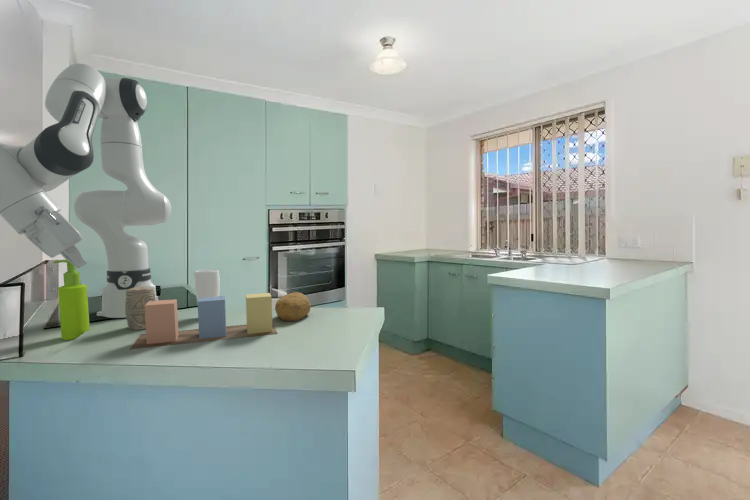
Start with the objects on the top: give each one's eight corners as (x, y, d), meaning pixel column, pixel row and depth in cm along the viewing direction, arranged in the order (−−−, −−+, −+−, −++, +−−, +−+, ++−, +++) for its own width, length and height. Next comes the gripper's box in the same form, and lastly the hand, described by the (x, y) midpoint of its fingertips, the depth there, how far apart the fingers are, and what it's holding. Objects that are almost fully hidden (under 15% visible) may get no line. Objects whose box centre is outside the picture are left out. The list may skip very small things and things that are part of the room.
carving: (127, 331, 107) (124, 287, 106) (158, 327, 111) (156, 284, 110) (125, 337, 102) (123, 291, 101) (159, 333, 105) (157, 288, 104)
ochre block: (246, 328, 103) (245, 294, 102) (270, 326, 105) (269, 292, 104) (247, 334, 98) (246, 298, 98) (272, 331, 100) (271, 296, 100)
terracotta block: (150, 338, 96) (148, 301, 95) (178, 335, 98) (176, 299, 97) (146, 344, 91) (144, 305, 90) (175, 341, 93) (174, 303, 92)
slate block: (200, 333, 99) (199, 297, 99) (226, 330, 101) (224, 296, 101) (199, 338, 95) (197, 301, 94) (226, 336, 97) (224, 299, 96)
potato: (267, 328, 109) (267, 299, 108) (284, 315, 123) (283, 290, 122) (302, 328, 108) (302, 299, 108) (315, 316, 122) (314, 290, 122)
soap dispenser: (70, 333, 106) (64, 258, 104) (95, 333, 105) (90, 258, 104) (51, 340, 100) (45, 260, 98) (78, 340, 100) (72, 260, 98)
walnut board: (141, 340, 99) (140, 334, 99) (273, 327, 110) (272, 322, 110) (129, 355, 88) (129, 349, 88) (277, 339, 99) (277, 333, 98)
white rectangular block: (212, 324, 113) (210, 272, 112) (191, 323, 115) (189, 271, 113) (225, 318, 120) (224, 269, 119) (205, 317, 121) (203, 268, 120)
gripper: (57, 196, 79) (107, 252, 84) (42, 215, 93) (86, 262, 98) (23, 213, 75) (78, 270, 80) (13, 229, 89) (60, 278, 94)
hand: (82, 266), depth 89 cm, fingers closed
